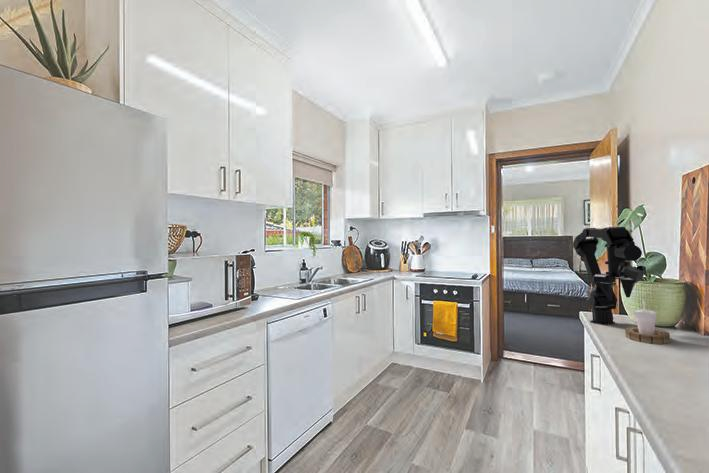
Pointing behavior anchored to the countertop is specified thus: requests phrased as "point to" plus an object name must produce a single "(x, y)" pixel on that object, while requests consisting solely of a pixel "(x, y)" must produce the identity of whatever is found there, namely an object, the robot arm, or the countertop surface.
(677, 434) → the countertop surface
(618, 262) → the robot arm
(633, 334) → the walnut ring
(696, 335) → the countertop surface
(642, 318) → the smoothie
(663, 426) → the countertop surface
